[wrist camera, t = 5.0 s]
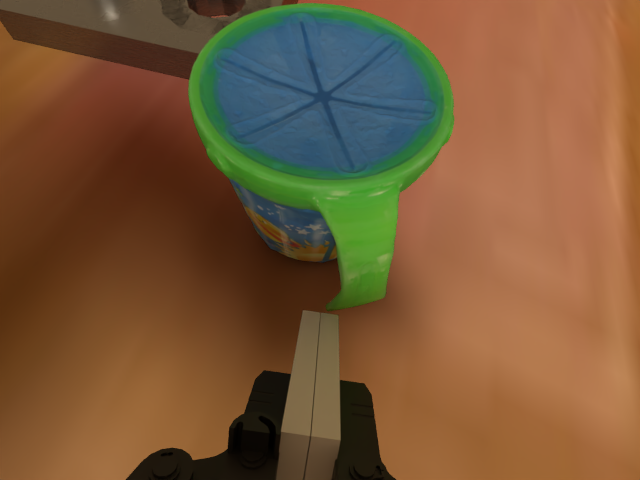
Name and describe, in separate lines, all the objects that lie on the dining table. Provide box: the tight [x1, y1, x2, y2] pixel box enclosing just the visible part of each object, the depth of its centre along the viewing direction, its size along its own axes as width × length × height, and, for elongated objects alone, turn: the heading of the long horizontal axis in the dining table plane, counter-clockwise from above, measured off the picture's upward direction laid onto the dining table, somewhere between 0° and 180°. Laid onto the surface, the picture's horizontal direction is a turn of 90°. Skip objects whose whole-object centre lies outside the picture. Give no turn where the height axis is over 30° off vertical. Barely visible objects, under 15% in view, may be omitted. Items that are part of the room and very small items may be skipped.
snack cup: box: [188, 3, 454, 311], centre depth 19 cm, size 16×10×10 cm
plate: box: [0, 0, 298, 79], centre depth 30 cm, size 20×13×2 cm, turn 76°
